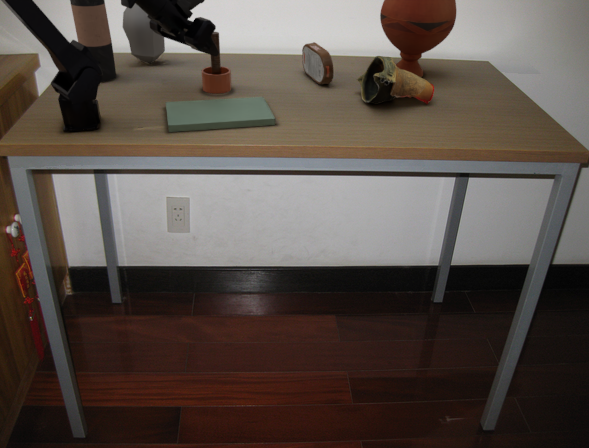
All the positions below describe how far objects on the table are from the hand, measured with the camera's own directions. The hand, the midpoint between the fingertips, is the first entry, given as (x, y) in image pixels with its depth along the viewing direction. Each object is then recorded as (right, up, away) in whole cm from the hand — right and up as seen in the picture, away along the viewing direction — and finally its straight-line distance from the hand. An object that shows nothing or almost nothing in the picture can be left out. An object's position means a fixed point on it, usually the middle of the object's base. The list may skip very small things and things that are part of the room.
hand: (205, 50), depth 114 cm
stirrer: (+2, -7, +7) cm, 10 cm away
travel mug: (-29, -3, +12) cm, 31 cm away
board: (+4, -16, -6) cm, 18 cm away
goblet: (+52, +2, +24) cm, 57 cm away
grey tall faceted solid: (-19, +4, +23) cm, 30 cm away
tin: (+26, -2, +17) cm, 31 cm away
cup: (+2, -7, +7) cm, 10 cm away
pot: (+42, -11, +5) cm, 44 cm away
